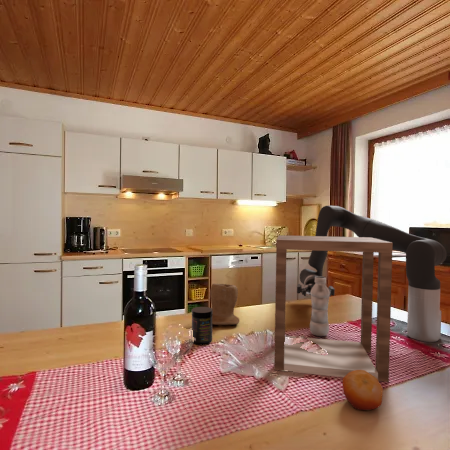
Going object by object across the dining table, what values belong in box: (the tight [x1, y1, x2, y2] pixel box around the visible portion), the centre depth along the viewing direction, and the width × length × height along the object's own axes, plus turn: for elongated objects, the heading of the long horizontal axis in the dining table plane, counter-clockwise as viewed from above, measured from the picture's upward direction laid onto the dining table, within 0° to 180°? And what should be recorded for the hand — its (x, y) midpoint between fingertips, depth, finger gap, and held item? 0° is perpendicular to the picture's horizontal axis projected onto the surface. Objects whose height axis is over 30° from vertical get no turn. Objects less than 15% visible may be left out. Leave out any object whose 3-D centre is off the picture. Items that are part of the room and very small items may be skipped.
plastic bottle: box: [309, 275, 330, 337], centre depth 111 cm, size 6×7×20 cm
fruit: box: [342, 370, 384, 411], centre depth 70 cm, size 8×8×8 cm
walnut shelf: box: [273, 234, 393, 383], centre depth 92 cm, size 20×28×34 cm
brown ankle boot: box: [209, 283, 240, 326], centre depth 122 cm, size 15×12×15 cm
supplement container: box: [191, 306, 213, 346], centre depth 103 cm, size 7×7×10 cm
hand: (316, 294), depth 122 cm, fingers open, 8 cm apart
